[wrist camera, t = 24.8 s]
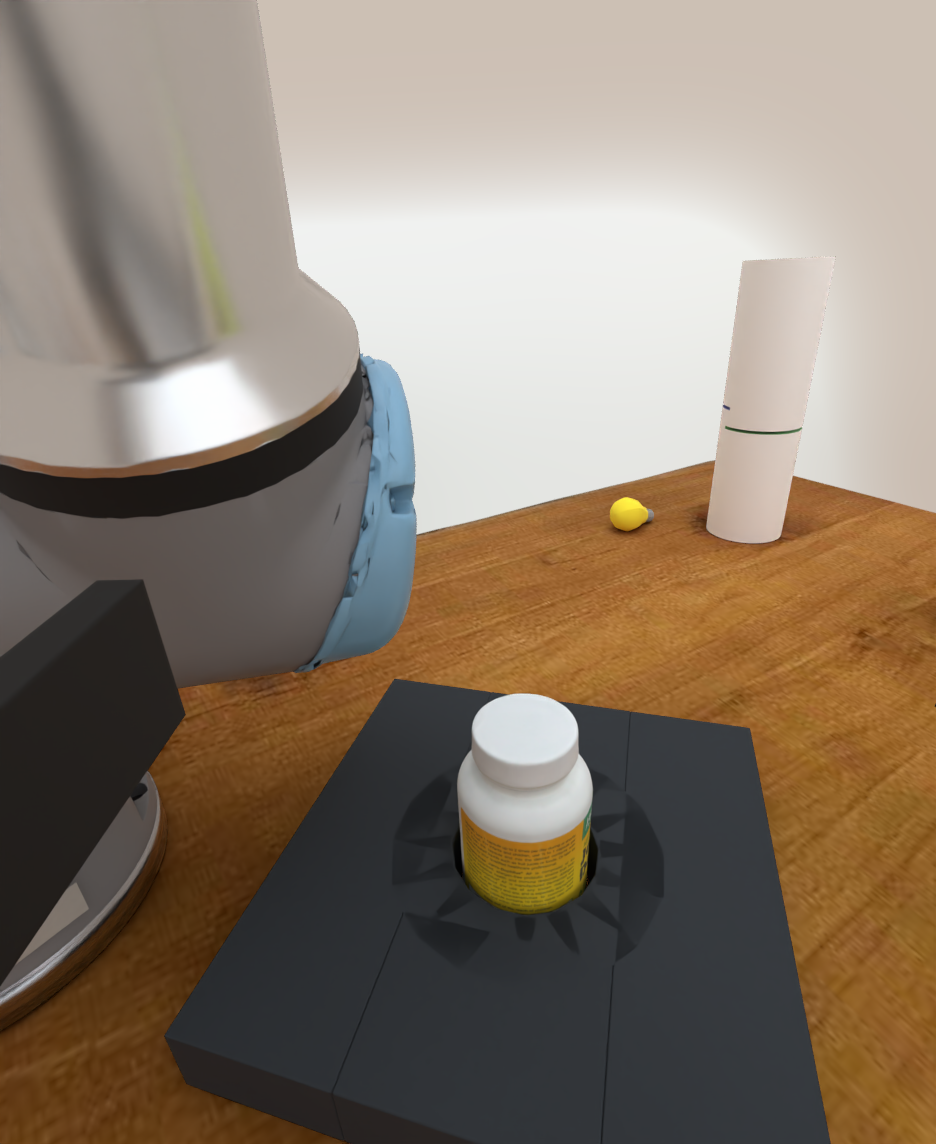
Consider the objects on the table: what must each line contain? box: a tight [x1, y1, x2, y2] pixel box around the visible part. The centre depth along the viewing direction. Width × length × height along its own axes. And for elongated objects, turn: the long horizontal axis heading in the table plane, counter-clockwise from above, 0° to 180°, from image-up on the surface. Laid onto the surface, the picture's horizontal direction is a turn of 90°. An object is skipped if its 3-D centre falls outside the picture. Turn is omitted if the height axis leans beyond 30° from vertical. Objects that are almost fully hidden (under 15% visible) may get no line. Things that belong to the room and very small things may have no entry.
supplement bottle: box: [457, 694, 593, 915], centre depth 25 cm, size 5×5×10 cm
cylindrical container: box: [706, 256, 835, 543], centre depth 57 cm, size 7×7×25 cm
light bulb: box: [610, 497, 654, 531], centre depth 64 cm, size 3×6×4 cm, turn 126°
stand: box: [164, 679, 831, 1144], centre depth 26 cm, size 20×20×3 cm
